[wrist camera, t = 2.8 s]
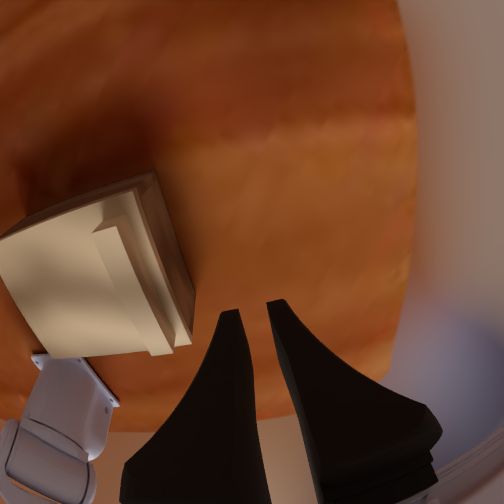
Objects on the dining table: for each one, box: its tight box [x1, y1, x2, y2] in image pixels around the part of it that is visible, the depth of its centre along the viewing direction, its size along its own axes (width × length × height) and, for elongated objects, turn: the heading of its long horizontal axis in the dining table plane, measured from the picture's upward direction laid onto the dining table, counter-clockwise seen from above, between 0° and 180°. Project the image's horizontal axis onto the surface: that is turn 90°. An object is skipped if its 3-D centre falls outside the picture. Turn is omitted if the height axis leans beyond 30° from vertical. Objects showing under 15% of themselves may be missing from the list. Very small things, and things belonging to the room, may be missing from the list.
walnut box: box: [0, 169, 196, 335], centre depth 18 cm, size 10×12×5 cm
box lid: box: [0, 188, 192, 359], centre depth 15 cm, size 10×12×2 cm
